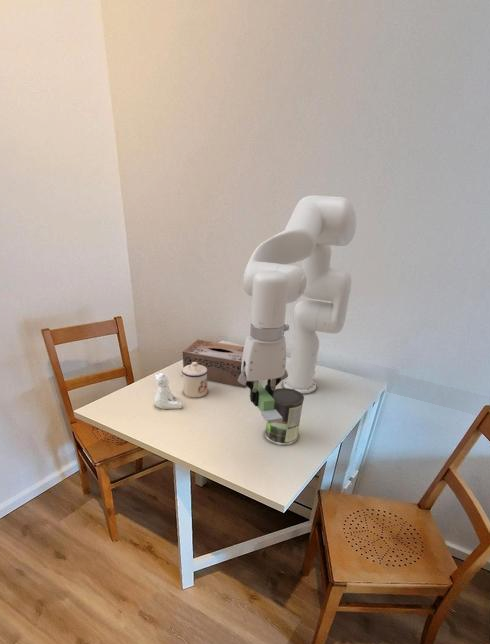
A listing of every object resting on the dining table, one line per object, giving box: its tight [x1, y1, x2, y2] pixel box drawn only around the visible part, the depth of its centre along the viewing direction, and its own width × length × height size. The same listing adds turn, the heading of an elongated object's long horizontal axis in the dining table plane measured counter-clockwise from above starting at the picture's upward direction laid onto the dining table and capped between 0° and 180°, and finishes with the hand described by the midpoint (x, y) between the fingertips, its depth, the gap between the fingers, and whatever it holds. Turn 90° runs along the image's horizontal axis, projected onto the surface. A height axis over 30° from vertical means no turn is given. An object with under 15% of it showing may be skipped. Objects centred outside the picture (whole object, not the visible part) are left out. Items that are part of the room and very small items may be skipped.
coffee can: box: [264, 387, 305, 446], centre depth 117 cm, size 10×10×14 cm
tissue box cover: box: [182, 339, 247, 388], centre depth 152 cm, size 26×14×10 cm, turn 70°
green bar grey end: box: [249, 382, 283, 424], centre depth 96 cm, size 14×4×4 cm, turn 18°
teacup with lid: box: [181, 362, 208, 398], centre depth 140 cm, size 12×9×12 cm
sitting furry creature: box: [153, 372, 182, 410], centre depth 131 cm, size 10×9×12 cm
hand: (261, 402), depth 99 cm, fingers closed on green bar grey end, 2 cm apart
